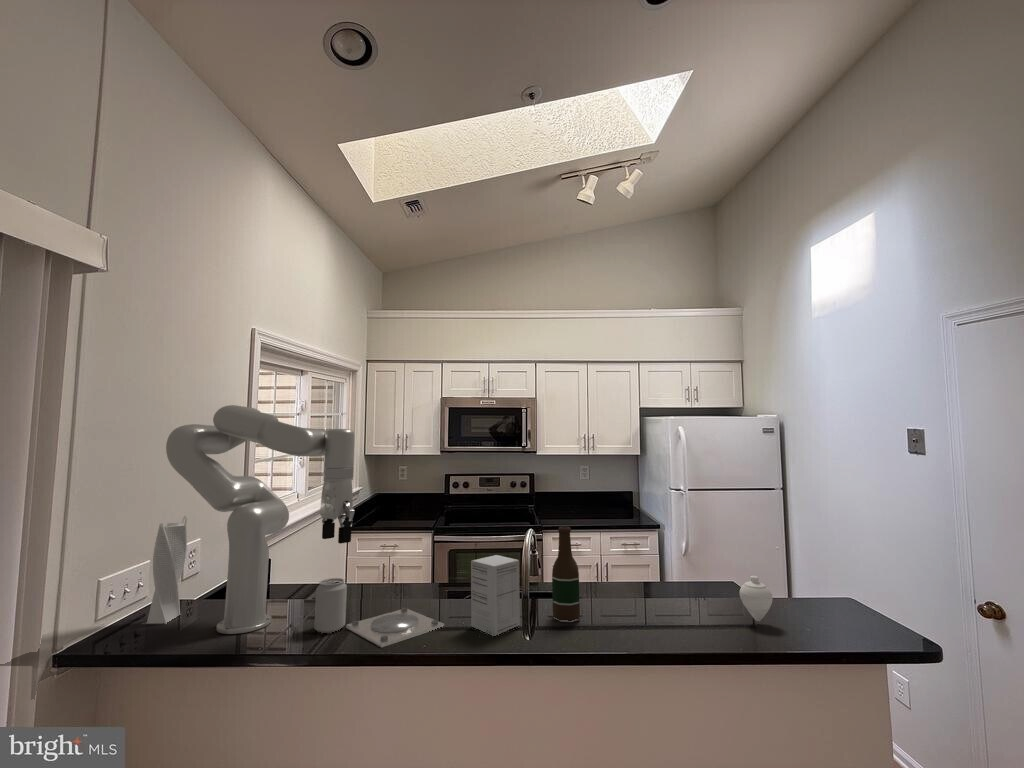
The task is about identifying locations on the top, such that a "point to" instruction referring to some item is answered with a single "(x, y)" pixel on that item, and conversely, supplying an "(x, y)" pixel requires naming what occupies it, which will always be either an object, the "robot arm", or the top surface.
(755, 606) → the spinning top
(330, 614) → the can
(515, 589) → the supplement box
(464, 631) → the top surface
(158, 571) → the skyscraper
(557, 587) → the beer bottle
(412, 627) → the flange
